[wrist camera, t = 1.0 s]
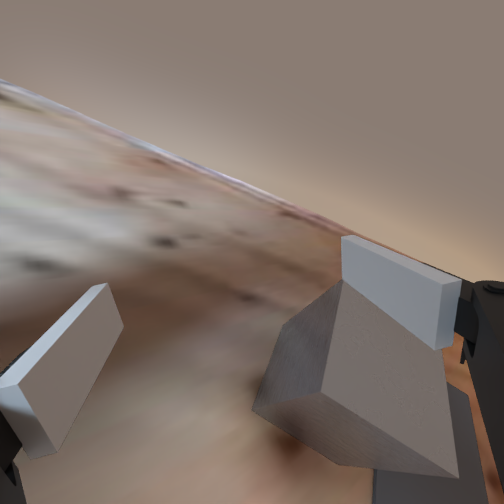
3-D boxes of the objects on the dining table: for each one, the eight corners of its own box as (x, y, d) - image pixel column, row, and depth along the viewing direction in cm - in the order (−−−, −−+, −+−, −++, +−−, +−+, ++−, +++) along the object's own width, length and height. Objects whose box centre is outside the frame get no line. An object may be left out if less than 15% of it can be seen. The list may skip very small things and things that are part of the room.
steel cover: (251, 410, 24) (320, 391, 15) (283, 325, 31) (344, 277, 22) (338, 464, 24) (459, 478, 15) (351, 367, 31) (440, 337, 22)
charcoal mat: (371, 514, 23) (375, 515, 22) (380, 342, 35) (382, 341, 34) (501, 595, 23) (506, 597, 22) (465, 395, 35) (468, 395, 34)
